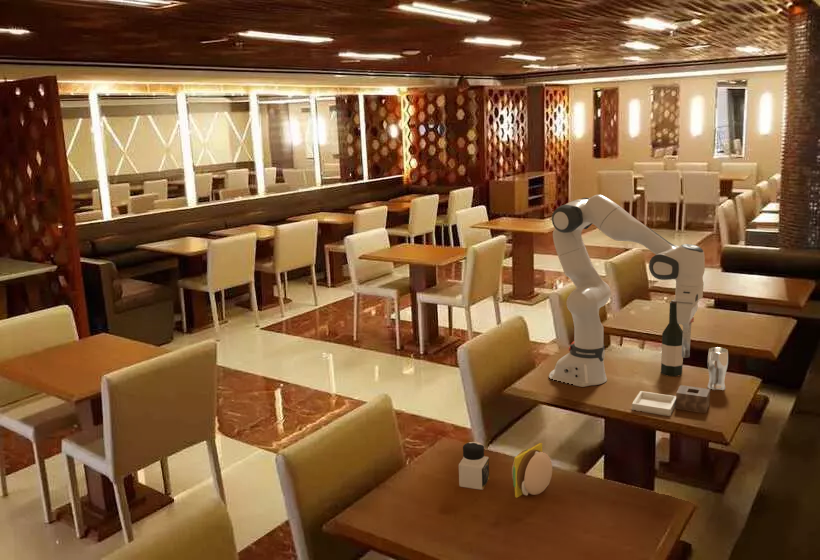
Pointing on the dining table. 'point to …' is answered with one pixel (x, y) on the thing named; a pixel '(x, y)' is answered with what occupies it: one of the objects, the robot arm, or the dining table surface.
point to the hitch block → (692, 399)
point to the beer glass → (717, 367)
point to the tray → (654, 403)
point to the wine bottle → (672, 345)
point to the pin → (686, 341)
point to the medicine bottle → (473, 467)
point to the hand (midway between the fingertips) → (686, 330)
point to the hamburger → (531, 471)
